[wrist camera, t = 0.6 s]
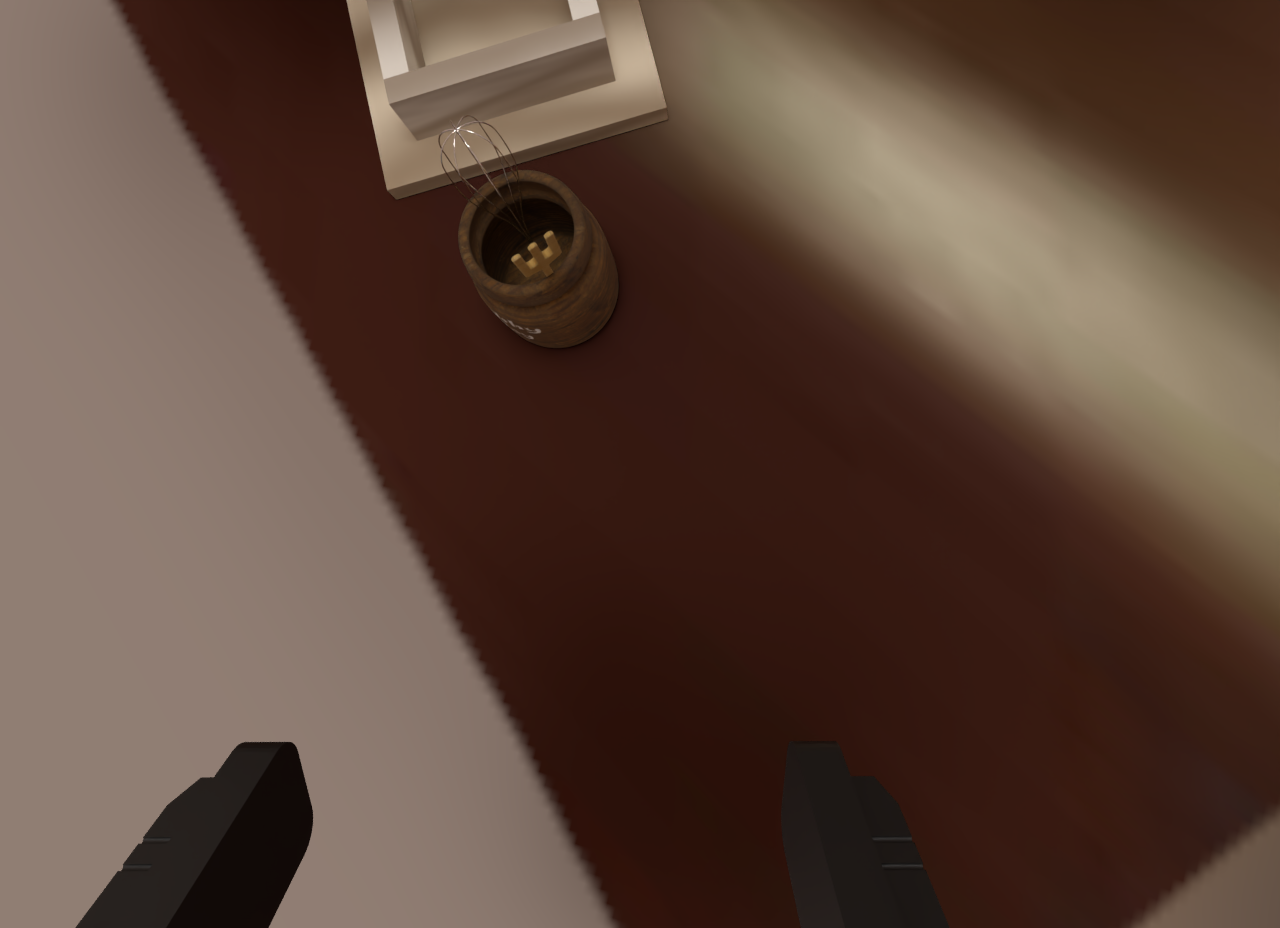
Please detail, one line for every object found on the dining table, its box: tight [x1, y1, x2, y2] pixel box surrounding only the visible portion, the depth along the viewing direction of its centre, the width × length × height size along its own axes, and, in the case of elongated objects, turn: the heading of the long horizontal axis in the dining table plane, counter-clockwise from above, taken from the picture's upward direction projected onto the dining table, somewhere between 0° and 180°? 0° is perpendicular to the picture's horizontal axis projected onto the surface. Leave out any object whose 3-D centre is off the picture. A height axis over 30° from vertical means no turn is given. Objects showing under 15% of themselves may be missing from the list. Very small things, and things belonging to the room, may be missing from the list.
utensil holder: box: [438, 115, 619, 348], centre depth 27 cm, size 6×6×12 cm
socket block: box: [347, 0, 668, 200], centre depth 33 cm, size 14×14×4 cm
